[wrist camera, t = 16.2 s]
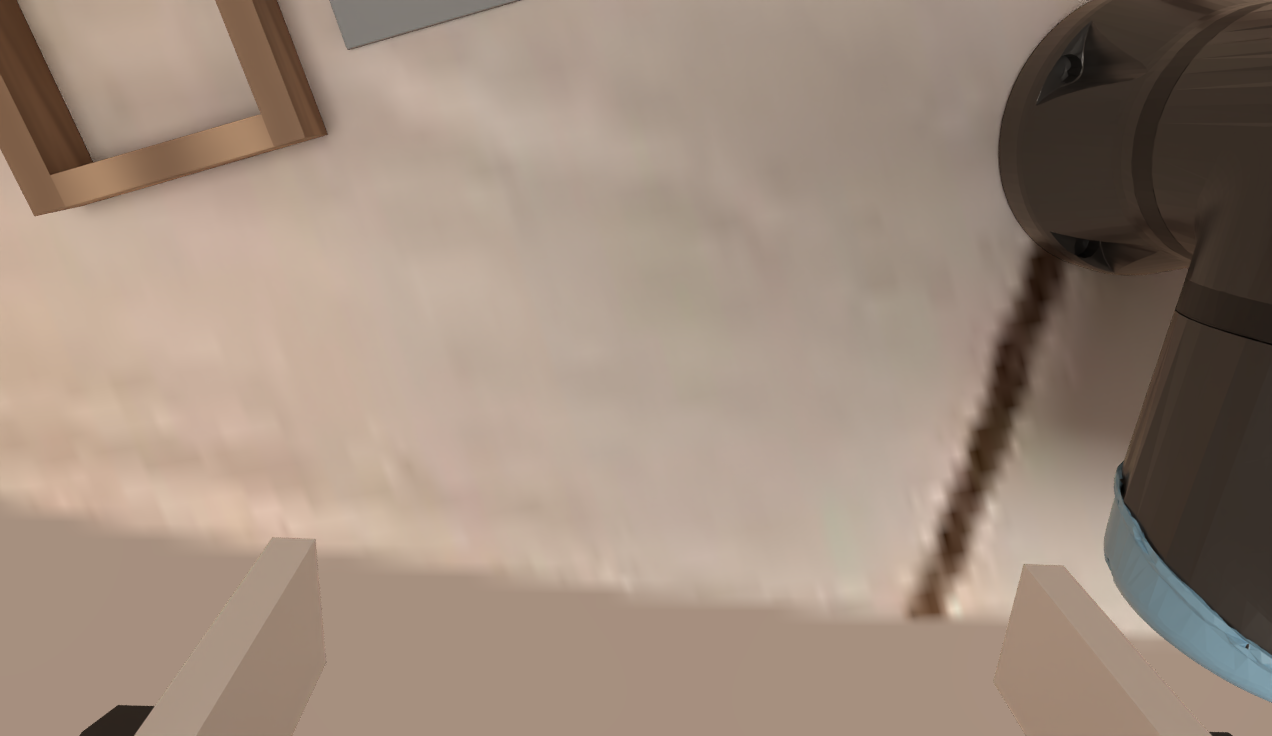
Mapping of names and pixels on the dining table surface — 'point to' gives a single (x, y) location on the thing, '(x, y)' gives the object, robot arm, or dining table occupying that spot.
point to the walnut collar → (67, 178)
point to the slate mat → (399, 16)
